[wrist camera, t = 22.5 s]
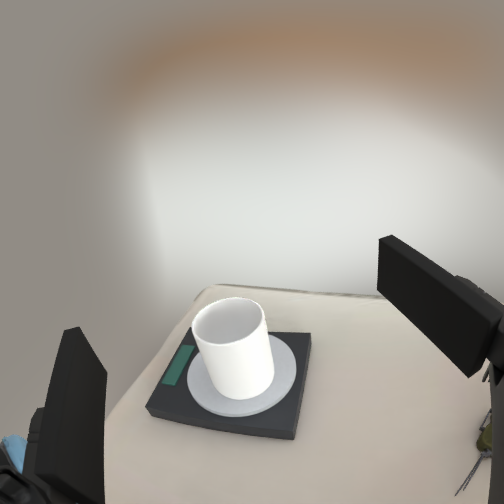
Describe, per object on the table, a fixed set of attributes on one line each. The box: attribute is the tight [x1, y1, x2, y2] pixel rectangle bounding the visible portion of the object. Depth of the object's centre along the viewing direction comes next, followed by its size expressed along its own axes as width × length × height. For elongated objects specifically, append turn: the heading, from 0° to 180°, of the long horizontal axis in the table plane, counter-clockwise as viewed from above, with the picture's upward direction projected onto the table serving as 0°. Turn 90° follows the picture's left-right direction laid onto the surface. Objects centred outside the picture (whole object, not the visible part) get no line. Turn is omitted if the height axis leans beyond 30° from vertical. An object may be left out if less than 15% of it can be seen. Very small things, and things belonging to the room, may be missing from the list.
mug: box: [192, 297, 274, 400], centre depth 39 cm, size 12×8×10 cm
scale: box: [145, 327, 311, 440], centre depth 43 cm, size 20×17×3 cm
